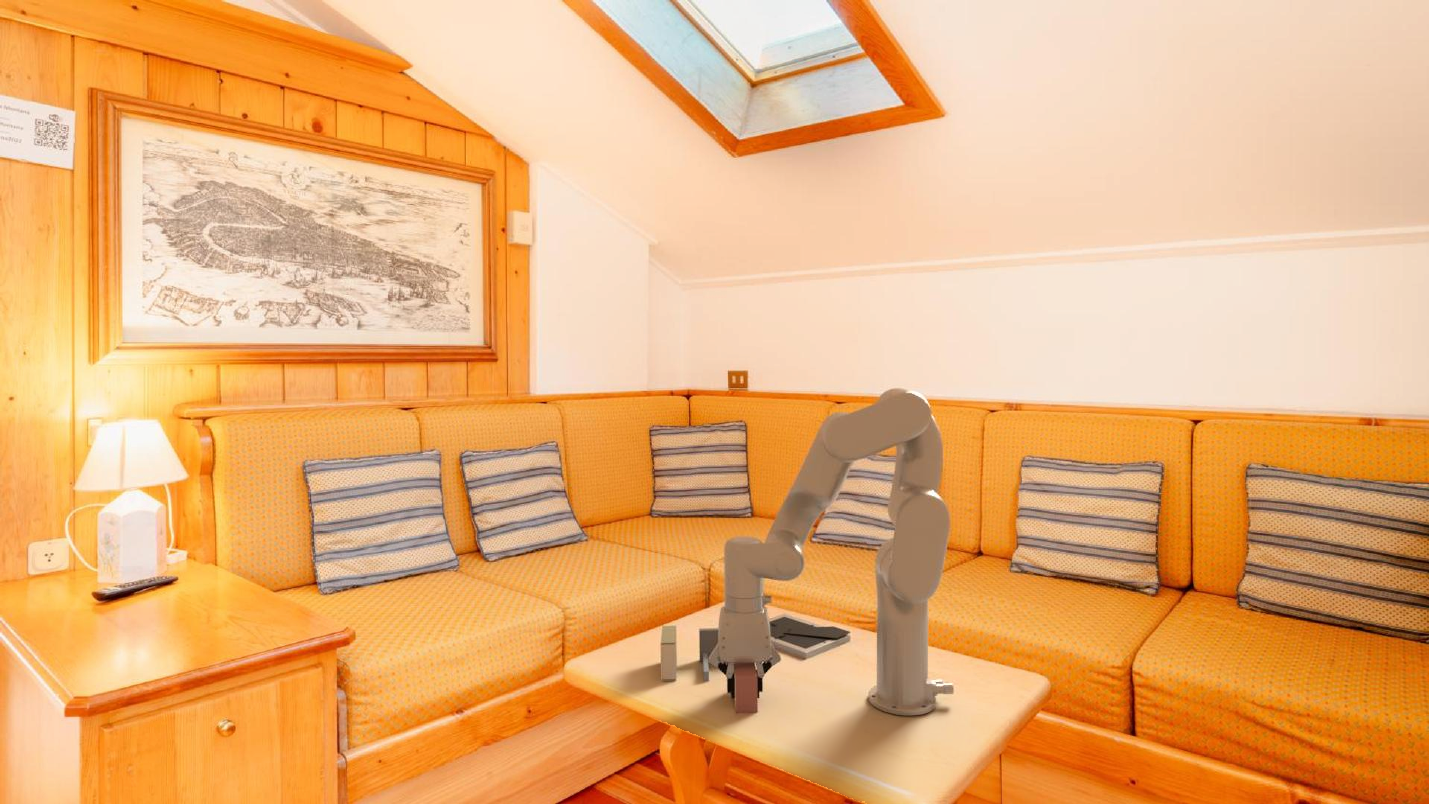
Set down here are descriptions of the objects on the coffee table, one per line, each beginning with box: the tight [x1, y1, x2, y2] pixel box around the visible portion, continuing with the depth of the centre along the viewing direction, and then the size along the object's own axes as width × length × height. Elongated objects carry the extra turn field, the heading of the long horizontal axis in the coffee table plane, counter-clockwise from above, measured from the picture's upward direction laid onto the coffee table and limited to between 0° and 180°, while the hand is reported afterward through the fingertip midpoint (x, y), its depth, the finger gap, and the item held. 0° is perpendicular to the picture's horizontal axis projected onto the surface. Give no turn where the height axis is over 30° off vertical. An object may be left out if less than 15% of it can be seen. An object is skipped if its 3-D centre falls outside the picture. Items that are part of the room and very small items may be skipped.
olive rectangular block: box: [660, 625, 678, 682], centre depth 165 cm, size 3×10×8 cm, turn 2°
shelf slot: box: [698, 627, 720, 682], centre depth 165 cm, size 11×11×7 cm
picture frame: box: [769, 613, 851, 660], centre depth 184 cm, size 16×3×21 cm
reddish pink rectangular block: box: [733, 662, 759, 714], centre depth 150 cm, size 4×10×7 cm, turn 2°
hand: (744, 694), depth 150 cm, fingers closed on reddish pink rectangular block, 4 cm apart
